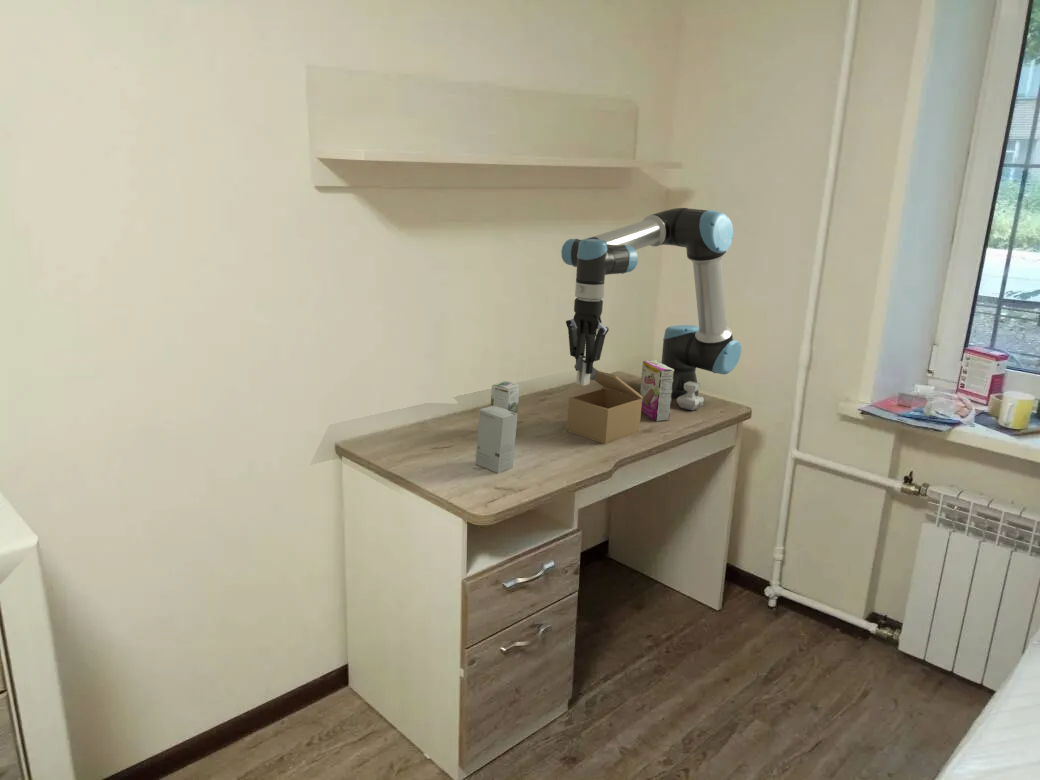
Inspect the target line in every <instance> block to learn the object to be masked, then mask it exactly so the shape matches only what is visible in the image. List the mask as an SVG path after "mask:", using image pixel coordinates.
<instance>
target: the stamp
mask: <svg viewBox="0 0 1040 780" xmlns="http://www.w3.org/2000/svg"><path fill="white" fill-rule="evenodd" d="M700 388H701V383H700V382H698V383H696V382H692V381H689V382H687V383H685V384H684V390H686V391H687V393H686V394H684V395H682V396H680V397H678V398H676V403H677V404H678V406H679V408H682V409H685V410H688V411H694V410H696V409H698V408H702V407H703V406H704V402H705V399H704V397H703V396H699V395H697V396H696V395H695V392H696V391H698V390H700ZM698 392H699V391H698Z"/></svg>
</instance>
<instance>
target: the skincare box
mask: <svg viewBox="0 0 1040 780" xmlns="http://www.w3.org/2000/svg"><path fill="white" fill-rule="evenodd" d="M478 414H479V415H478V416H479V418H478V426H477V427H478V428H477V439H476V449H475V451H476V453H475V465H476V466H479V467H482V468H484V469H487V470H489V471H492V472H494V473H496V474H500V473H503V472H506V471H508V470H507V469H509V470H511V469H513V467H514V457H515V456H514V455H515V446H516V438H517V437H516V436H517V430H516V427H517V426H518V416H519V415H518V414H519V413H518V414H516V413H513V412H511V411H508V410H506V409H503V408H500V407H497V406H491V405H490V406H488V407H484V408H480V409H479V413H478ZM510 468H511V469H510ZM505 470H506V471H505ZM502 471H503V472H502ZM499 472H500V473H499Z"/></svg>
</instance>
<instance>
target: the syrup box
mask: <svg viewBox="0 0 1040 780" xmlns="http://www.w3.org/2000/svg"><path fill="white" fill-rule="evenodd" d="M490 397H491V398H490V400H491V401H490V407H491V406H497V407H500V408H503V409H506V410H508V411H511V412H513V413H516V414H519V413H518V412H519V399H520V384H517V383H515V382H511V381H507V380H506V381H505V380H502V381H500V382H498V383H494V384H493V385H491V395H490ZM517 430H518V429H517V427H516V431H517Z"/></svg>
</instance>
